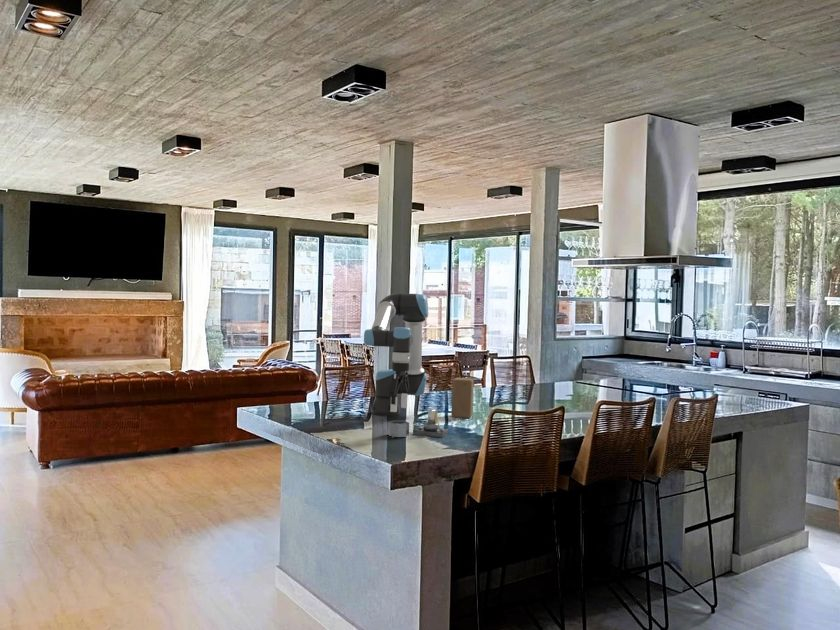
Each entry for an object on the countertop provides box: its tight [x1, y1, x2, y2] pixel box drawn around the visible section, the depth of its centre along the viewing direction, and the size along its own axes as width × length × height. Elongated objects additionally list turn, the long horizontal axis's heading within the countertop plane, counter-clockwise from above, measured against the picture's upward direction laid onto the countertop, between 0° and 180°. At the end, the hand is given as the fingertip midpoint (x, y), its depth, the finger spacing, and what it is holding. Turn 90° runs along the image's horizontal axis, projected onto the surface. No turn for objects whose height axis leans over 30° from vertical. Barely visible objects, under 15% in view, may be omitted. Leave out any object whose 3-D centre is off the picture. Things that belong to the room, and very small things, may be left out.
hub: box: [386, 419, 410, 438], centre depth 314 cm, size 9×9×6 cm
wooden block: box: [451, 377, 475, 419], centre depth 373 cm, size 10×10×20 cm
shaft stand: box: [412, 408, 450, 439], centre depth 321 cm, size 14×10×11 cm
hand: (398, 409), depth 314 cm, fingers open, 13 cm apart
